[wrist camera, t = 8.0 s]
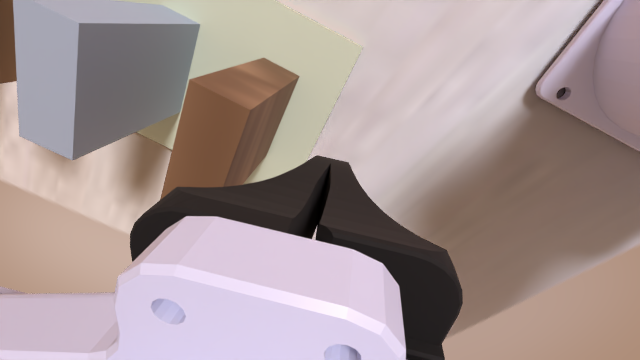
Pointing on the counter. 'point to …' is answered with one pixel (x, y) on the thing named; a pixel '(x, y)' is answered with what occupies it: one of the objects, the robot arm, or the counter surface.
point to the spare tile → (97, 70)
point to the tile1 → (228, 124)
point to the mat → (280, 48)
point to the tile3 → (7, 42)
